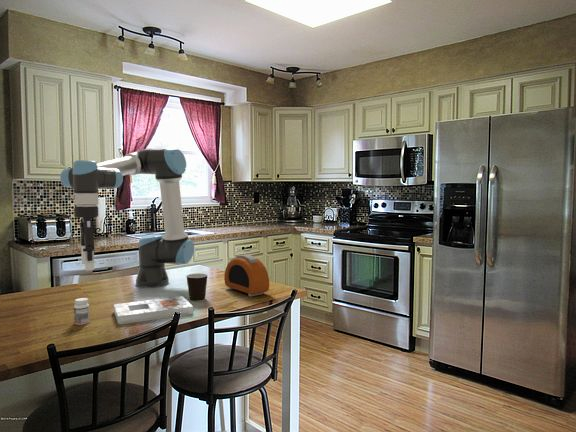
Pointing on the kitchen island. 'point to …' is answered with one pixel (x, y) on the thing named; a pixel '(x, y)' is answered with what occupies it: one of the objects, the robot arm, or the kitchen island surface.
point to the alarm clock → (247, 275)
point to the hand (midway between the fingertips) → (87, 267)
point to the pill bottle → (81, 311)
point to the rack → (151, 309)
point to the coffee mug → (197, 286)
